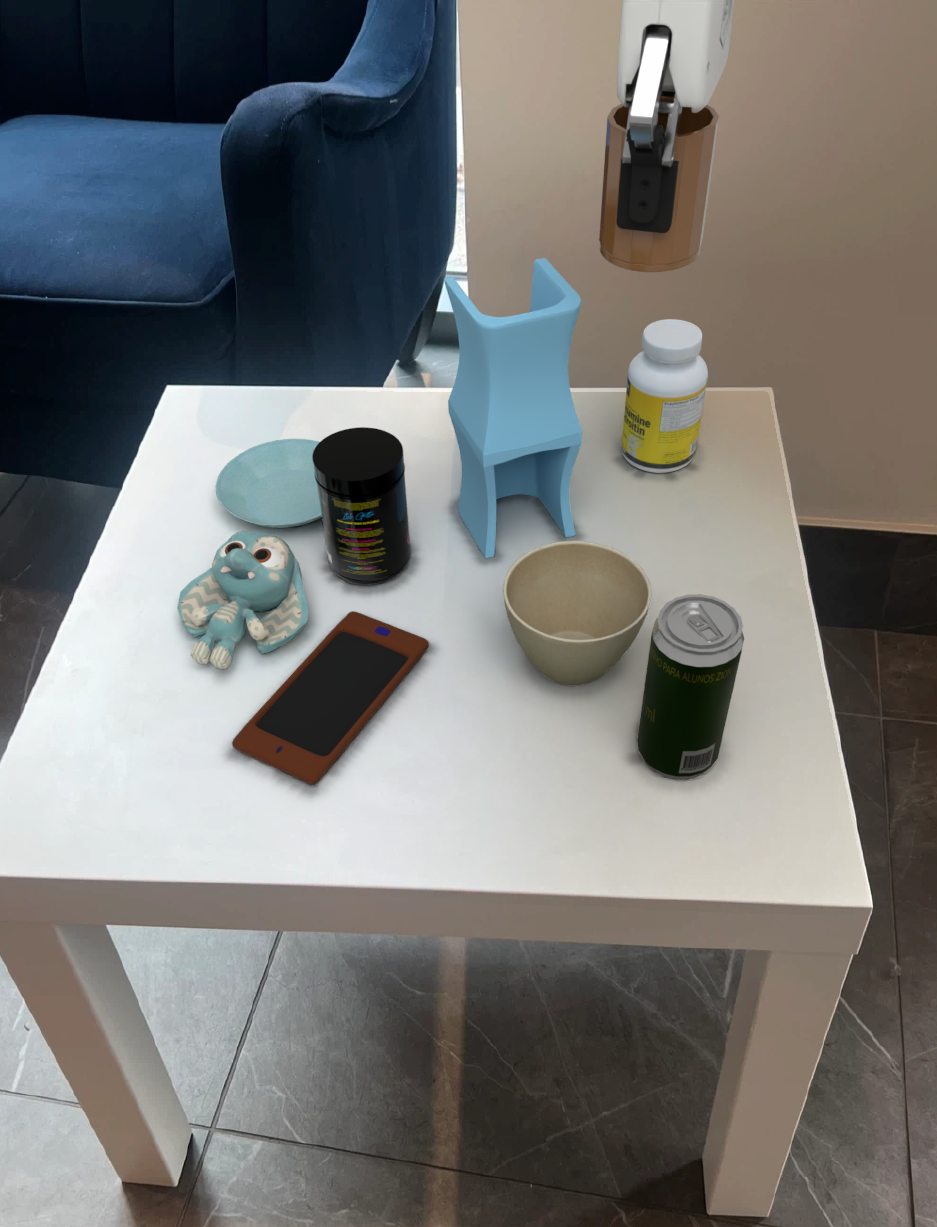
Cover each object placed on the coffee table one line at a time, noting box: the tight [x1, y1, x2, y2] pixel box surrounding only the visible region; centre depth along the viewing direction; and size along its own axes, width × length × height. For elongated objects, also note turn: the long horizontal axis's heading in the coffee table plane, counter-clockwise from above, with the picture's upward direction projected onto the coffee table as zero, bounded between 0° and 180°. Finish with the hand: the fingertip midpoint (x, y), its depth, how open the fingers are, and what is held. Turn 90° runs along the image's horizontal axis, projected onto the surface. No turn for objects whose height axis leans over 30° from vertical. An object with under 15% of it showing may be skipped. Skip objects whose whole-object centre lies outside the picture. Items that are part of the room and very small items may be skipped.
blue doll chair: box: [443, 257, 583, 559], centre depth 84 cm, size 8×8×20 cm
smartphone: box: [231, 610, 430, 785], centre depth 78 cm, size 7×1×15 cm
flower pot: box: [502, 540, 653, 687], centre depth 77 cm, size 10×10×7 cm
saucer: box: [215, 438, 322, 529], centre depth 94 cm, size 12×12×2 cm
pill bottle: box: [620, 318, 709, 474], centre depth 92 cm, size 6×6×12 cm
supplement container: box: [312, 426, 412, 586], centre depth 85 cm, size 7×7×10 cm
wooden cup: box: [598, 96, 720, 273], centre depth 67 cm, size 6×6×8 cm
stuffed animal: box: [176, 530, 310, 670], centre depth 82 cm, size 11×7×12 cm
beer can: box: [636, 593, 745, 781], centre depth 69 cm, size 5×5×12 cm
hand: (655, 200), depth 68 cm, fingers closed on wooden cup, 6 cm apart
